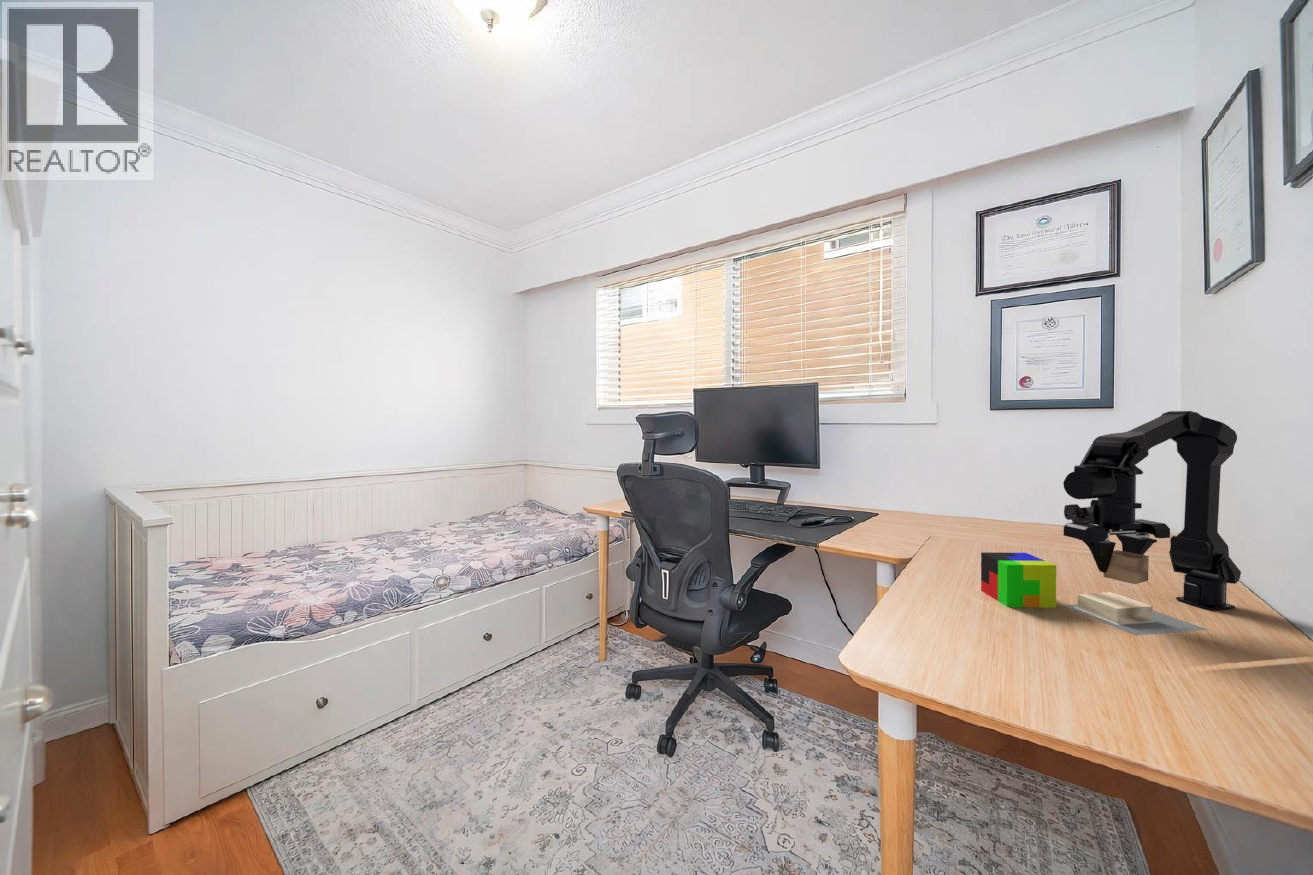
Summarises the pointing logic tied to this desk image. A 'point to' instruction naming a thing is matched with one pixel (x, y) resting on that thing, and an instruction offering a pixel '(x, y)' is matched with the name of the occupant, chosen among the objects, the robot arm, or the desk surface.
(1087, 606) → the maple slab
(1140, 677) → the desk surface
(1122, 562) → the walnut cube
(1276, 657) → the desk surface
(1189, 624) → the build mat
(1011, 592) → the puzzle toy
